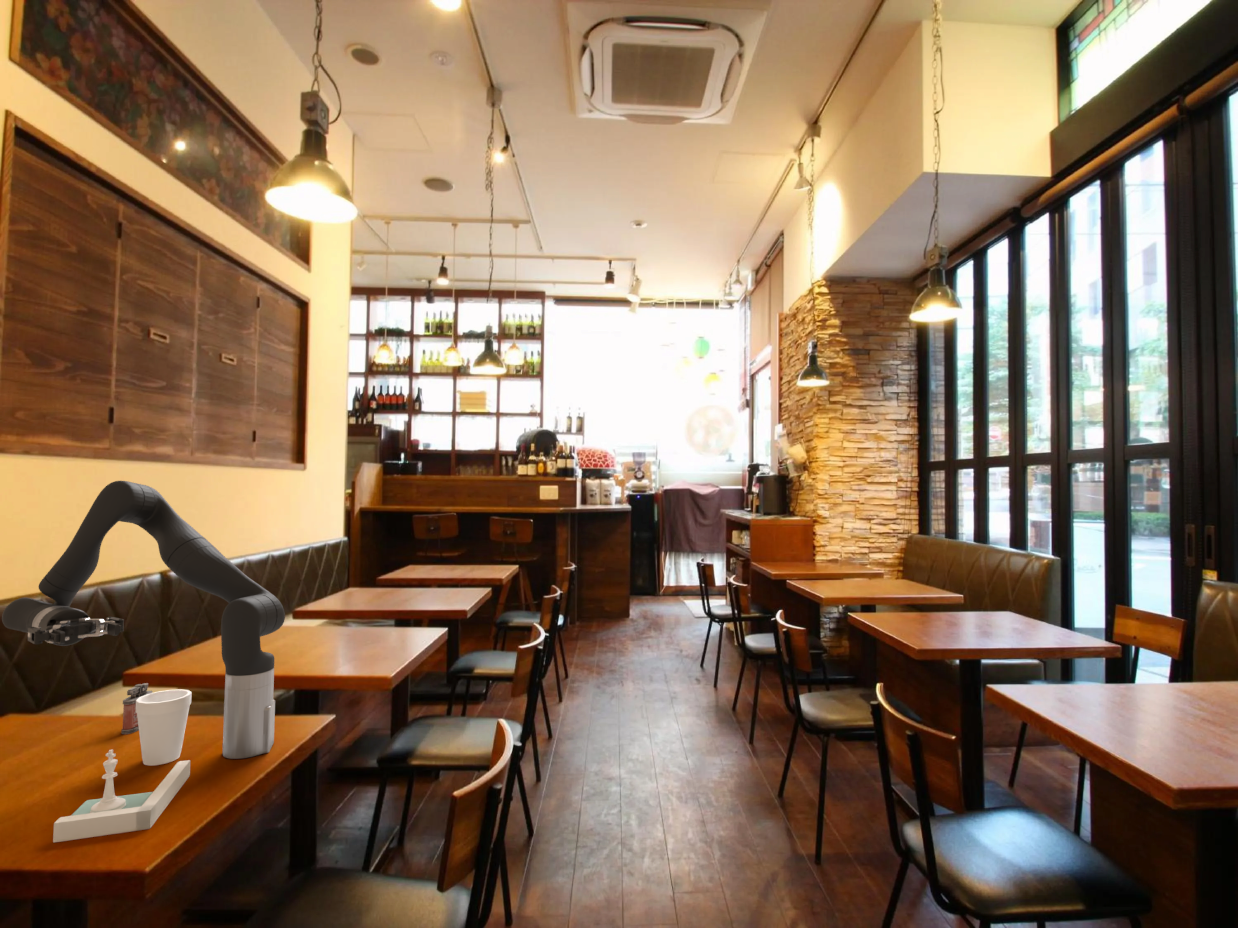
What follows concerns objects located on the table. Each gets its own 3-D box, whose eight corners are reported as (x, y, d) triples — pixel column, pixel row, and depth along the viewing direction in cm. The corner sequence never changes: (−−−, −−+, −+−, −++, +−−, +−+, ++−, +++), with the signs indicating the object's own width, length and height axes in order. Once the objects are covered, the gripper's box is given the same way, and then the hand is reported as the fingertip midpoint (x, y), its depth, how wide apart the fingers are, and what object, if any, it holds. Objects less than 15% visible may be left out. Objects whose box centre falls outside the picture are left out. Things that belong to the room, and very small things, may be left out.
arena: (189, 775, 124) (190, 759, 124) (150, 828, 104) (150, 809, 104) (103, 785, 119) (104, 769, 119) (45, 843, 99) (46, 824, 100)
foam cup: (141, 753, 134) (144, 692, 135) (193, 747, 138) (195, 687, 138) (127, 771, 125) (130, 705, 126) (182, 764, 129) (185, 699, 130)
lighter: (140, 721, 153) (142, 680, 154) (155, 721, 153) (156, 679, 154) (117, 734, 145) (119, 690, 146) (132, 733, 145) (134, 689, 146)
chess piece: (104, 816, 107) (107, 756, 107) (82, 813, 108) (85, 754, 108) (133, 803, 112) (135, 745, 112) (111, 799, 113) (114, 743, 113)
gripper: (16, 612, 126) (44, 620, 118) (103, 602, 138) (134, 609, 130) (14, 649, 126) (42, 661, 117) (101, 636, 138) (133, 646, 129)
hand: (90, 634), depth 123 cm, fingers open, 8 cm apart
